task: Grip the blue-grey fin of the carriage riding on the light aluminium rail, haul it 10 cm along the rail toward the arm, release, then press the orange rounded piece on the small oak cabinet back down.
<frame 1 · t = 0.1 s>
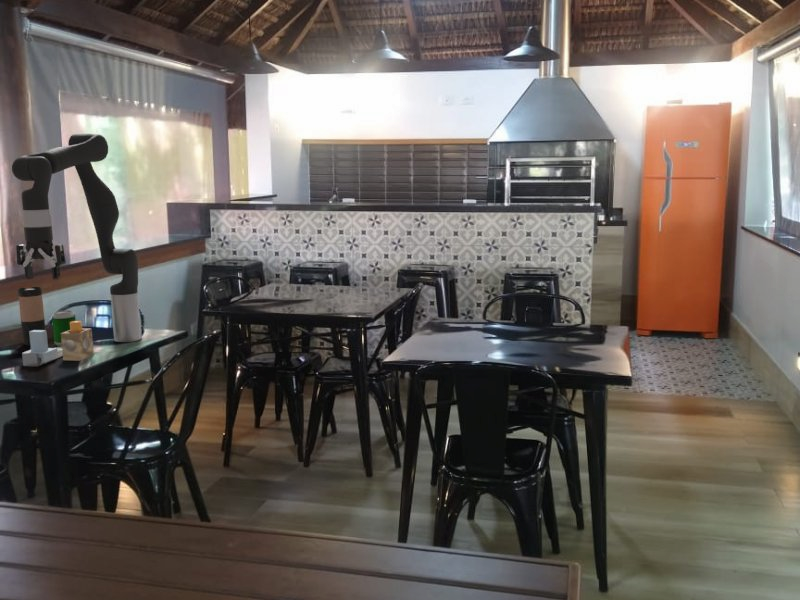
hand: (43, 279, 227), 29 cm above the table, fingers open, 8 cm apart
travel mug: (35, 343, 272), on the table
cabinet: (78, 357, 251), on the table
soda can: (66, 345, 269), on the table
orange rounded piece: (76, 329, 249), point 10 cm above the table, slide at 0.0 cm
rail: (52, 357, 251), on the table
carriage: (39, 345, 244), point 6 cm above the table, slide at 0.0 cm
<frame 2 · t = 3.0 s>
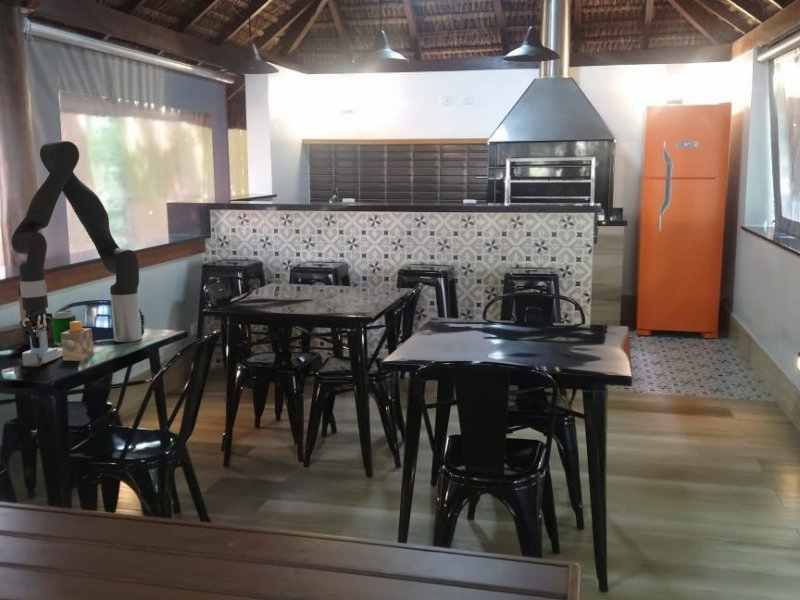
hand: (39, 346, 244), 5 cm above the table, fingers closed on carriage, 2 cm apart
carriage: (39, 345, 244), point 6 cm above the table, slide at 0.0 cm, touching gripper
everything else where it was.
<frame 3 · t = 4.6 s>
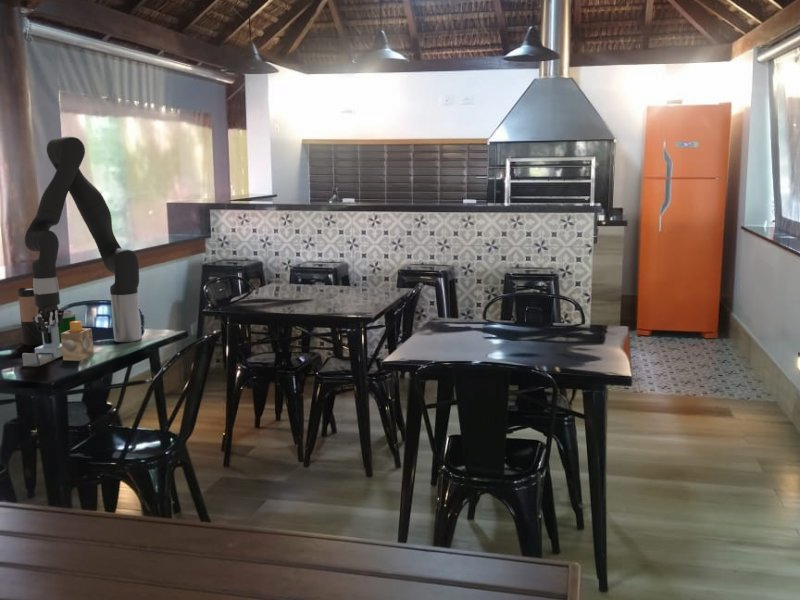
hand: (51, 342, 251), 5 cm above the table, fingers closed on carriage, 2 cm apart
carriage: (51, 340, 250), point 6 cm above the table, slide at 6.3 cm, touching gripper
everything else where it was.
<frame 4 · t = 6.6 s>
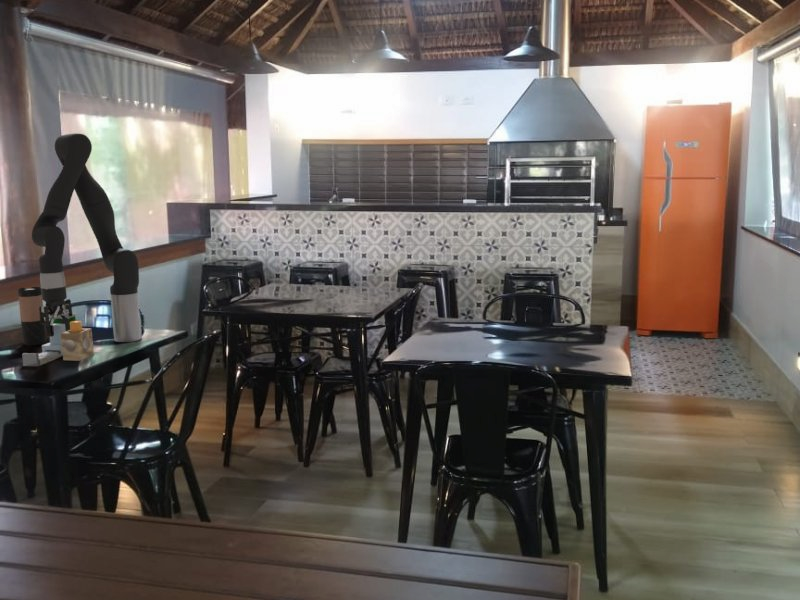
hand: (58, 333, 254), 7 cm above the table, fingers open, 8 cm apart
carriage: (58, 338, 254), point 6 cm above the table, slide at 10.0 cm
everything else where it was.
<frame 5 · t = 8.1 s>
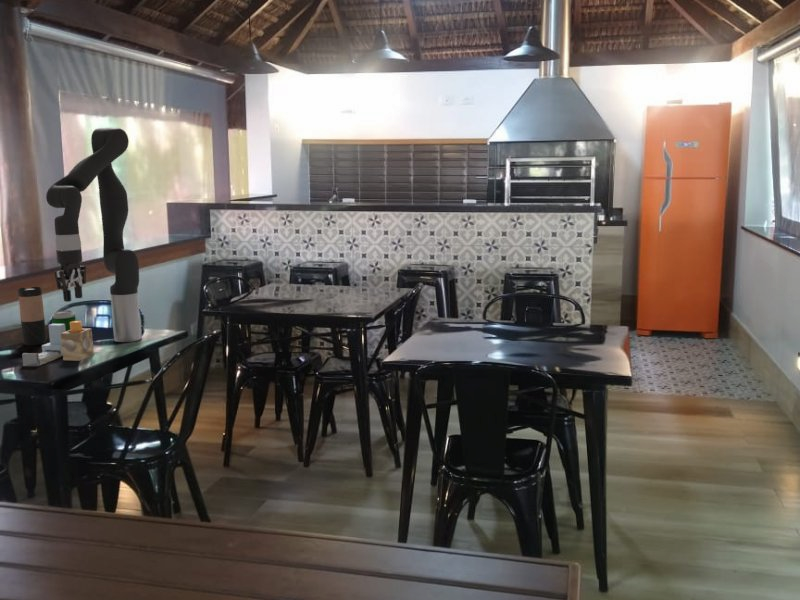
hand: (73, 299, 247), 20 cm above the table, fingers open, 5 cm apart
nothing on the table moved.
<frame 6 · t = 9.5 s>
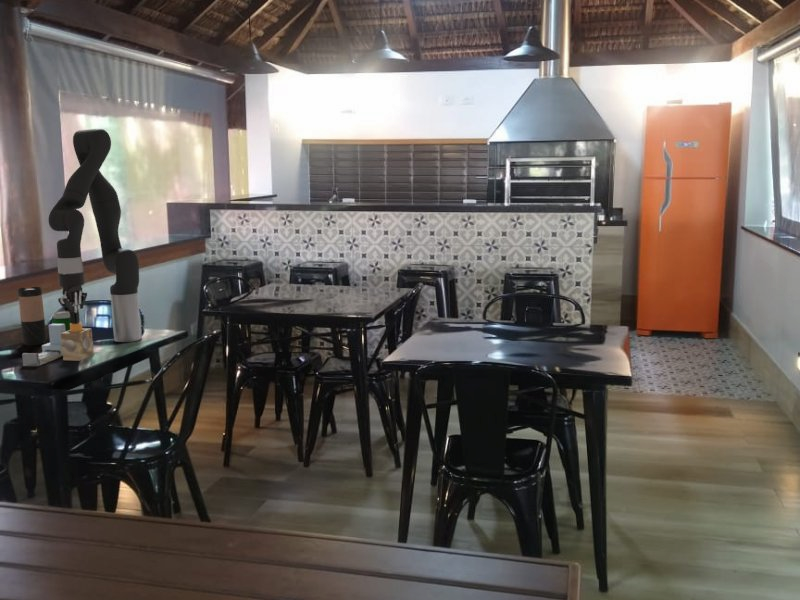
hand: (75, 323, 249), 12 cm above the table, fingers closed
orange rounded piece: (76, 330, 249), point 9 cm above the table, slide at 0.5 cm, touching gripper
everything else where it was.
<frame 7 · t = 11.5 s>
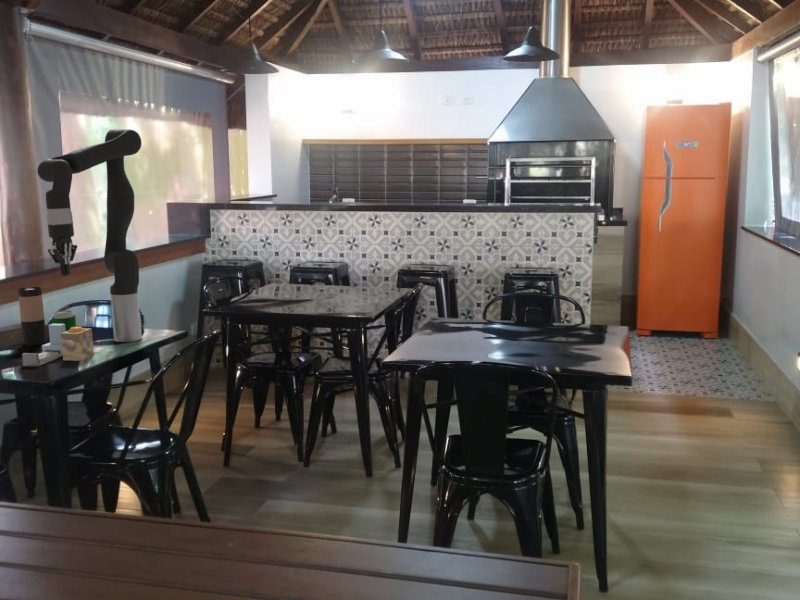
hand: (65, 275, 248), 27 cm above the table, fingers closed
orange rounded piece: (76, 335, 249), point 8 cm above the table, slide at 2.0 cm
everything else where it was.
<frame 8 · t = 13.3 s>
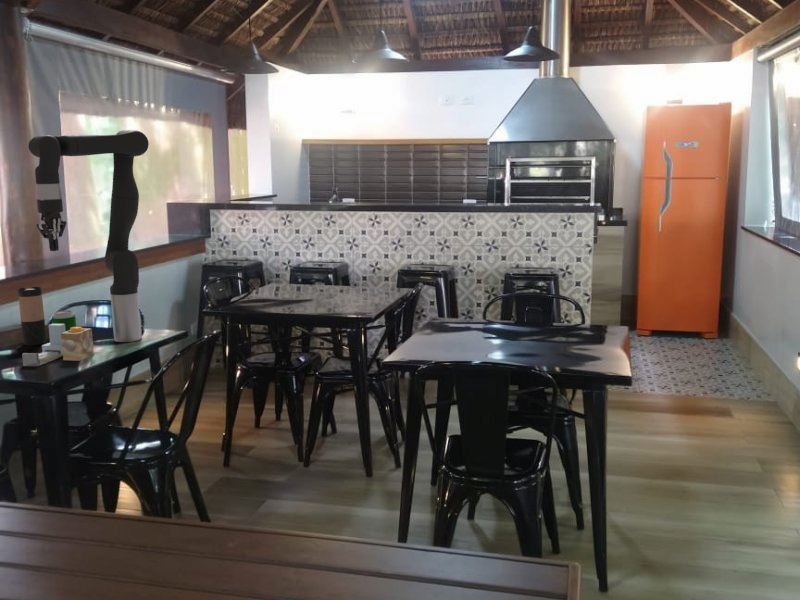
hand: (54, 250, 250), 35 cm above the table, fingers closed
nothing on the table moved.
at the end: carriage slide at 10.0 cm; orange rounded piece slide at 2.0 cm; the gripper is holding nothing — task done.
